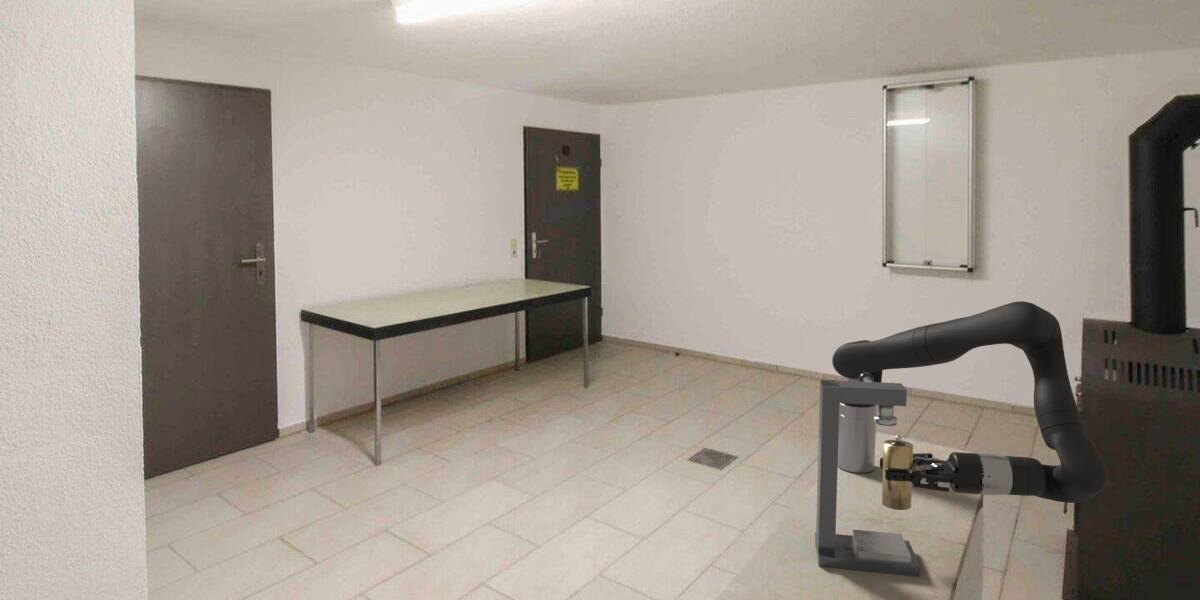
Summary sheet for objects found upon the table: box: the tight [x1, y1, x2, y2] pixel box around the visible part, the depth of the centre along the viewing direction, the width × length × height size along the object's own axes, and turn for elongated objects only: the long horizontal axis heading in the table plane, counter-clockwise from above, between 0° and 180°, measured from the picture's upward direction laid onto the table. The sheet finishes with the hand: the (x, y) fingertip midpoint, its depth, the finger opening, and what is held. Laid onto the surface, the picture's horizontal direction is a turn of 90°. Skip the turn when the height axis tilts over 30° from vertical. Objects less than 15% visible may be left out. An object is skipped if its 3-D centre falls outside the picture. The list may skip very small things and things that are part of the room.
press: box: [814, 372, 921, 577], centre depth 133 cm, size 18×18×34 cm
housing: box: [881, 434, 914, 511], centre depth 132 cm, size 5×5×14 cm
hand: (883, 468), depth 132 cm, fingers closed on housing, 5 cm apart
